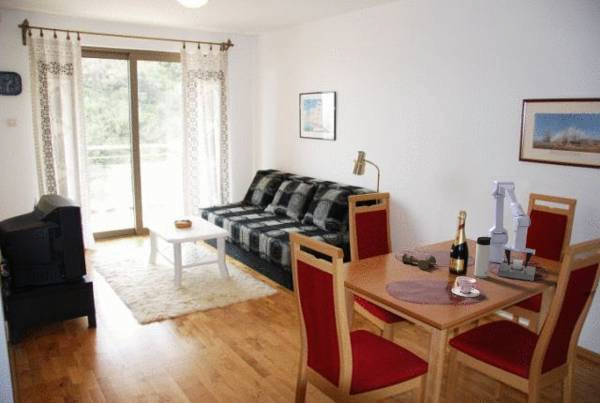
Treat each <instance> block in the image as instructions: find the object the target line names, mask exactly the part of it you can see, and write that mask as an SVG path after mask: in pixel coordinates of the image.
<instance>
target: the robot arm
mask: <svg viewBox="0 0 600 403" xmlns="http://www.w3.org/2000/svg"><path fill="white" fill-rule="evenodd" d="M515 185H516V184H515V183H514V181H513V180H494V181H493V182H492V184H491V196H493V214H492V216H493V218H492V220H493V221H492V227H490V228H489V229H487V234H486V237H491V238H492V239H491V242H490V255H489V263H490V262H492V263H499V264H501V262H502V263H504V261H505V258H504V254H505V257H506V260H507V263H508V265H510V264H511V253H512V252H514V253H521V254H522V253H523V254H525V255H526V256H525V264H524V266H525V268H526V267H527V266H528V263H529V262H530V260H531V258H532V256H534V255H536V249H531V248H527V247H526V244H527V235H528V228H529V227H530V226H531V218H530V215H527V214H526V213H525V211H524V209H523V206H522V204H520V203H518V200H517V197H516V194H515V190H516V189H515V188H516V186H515ZM505 198H506V201H507V202H508V204H509V211H510V214H511V217H512V226H513V239H512V240H513V241H512V245H511V246H510V245H507V244H508V242H509V235H508V229H506V228H504V210H505V209H504V205H505V203H504V202H505Z"/></svg>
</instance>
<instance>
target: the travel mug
mask: <svg viewBox="0 0 600 403" xmlns="http://www.w3.org/2000/svg"><path fill="white" fill-rule="evenodd" d="M491 239H492V238H491V237H487V236H479V237H477V239H476V247H475V248H476V250H475V260H474V261H475V262H474V270H473V271H474V273H473V274H474V277H475V278H477V279H487V278H488V277H489V276H488V275H489V265H490V261H489V255H490V242H491Z"/></svg>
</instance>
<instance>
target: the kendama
mask: <svg viewBox="0 0 600 403" xmlns="http://www.w3.org/2000/svg"><path fill="white" fill-rule="evenodd" d="M401 262H402V263H404V264H405V263H409V264H411V265H412V264H414V263H415V264H416V263H417V266H418V269H419V270H421V271H426V270H427V269H428V267H435V266H436V267H437V266H439V265H438V264H437V260H436V257H435V256H434V255H430V254H428V255H426V257H425V259H419V258H417V257H414V255H409V254H408V253H404V254H402V256H401Z"/></svg>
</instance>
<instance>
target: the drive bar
mask: <svg viewBox="0 0 600 403" xmlns="http://www.w3.org/2000/svg"><path fill="white" fill-rule="evenodd" d="M523 261H524V260H523V259H515V258H513V261H512V264H513V268H512V270H519V271H522V265H523Z"/></svg>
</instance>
